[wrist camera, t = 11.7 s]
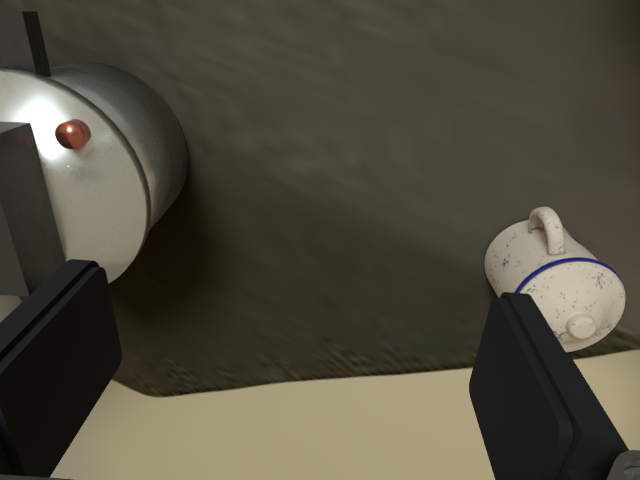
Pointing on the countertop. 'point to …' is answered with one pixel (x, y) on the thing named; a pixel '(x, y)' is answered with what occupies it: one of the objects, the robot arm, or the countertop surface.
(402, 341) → the countertop surface
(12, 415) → the robot arm
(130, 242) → the lid
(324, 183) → the countertop surface
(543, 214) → the teacup with lid
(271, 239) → the countertop surface
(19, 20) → the pot
